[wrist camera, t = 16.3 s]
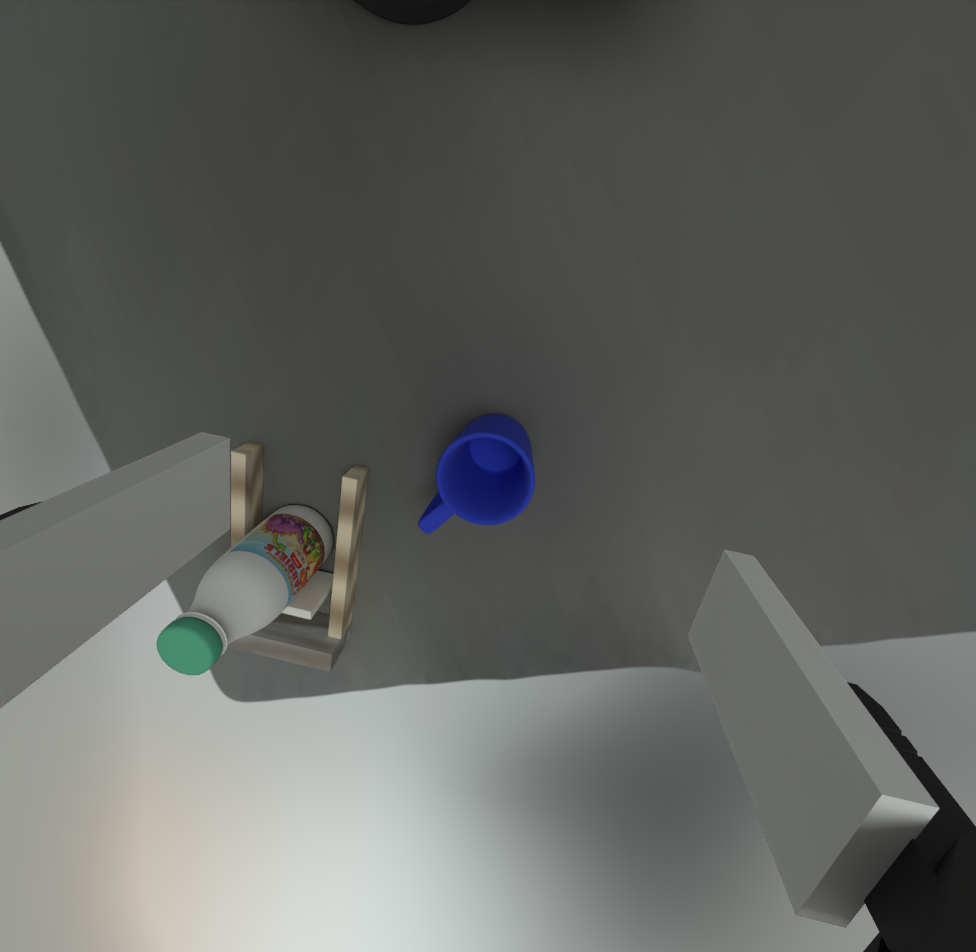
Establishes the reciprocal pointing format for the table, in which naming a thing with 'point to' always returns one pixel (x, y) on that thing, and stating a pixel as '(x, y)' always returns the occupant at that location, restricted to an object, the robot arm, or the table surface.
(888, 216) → the table surface
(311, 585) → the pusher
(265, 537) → the milk bottle
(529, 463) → the mug
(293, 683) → the table surface
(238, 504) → the lane
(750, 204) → the table surface
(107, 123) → the table surface
